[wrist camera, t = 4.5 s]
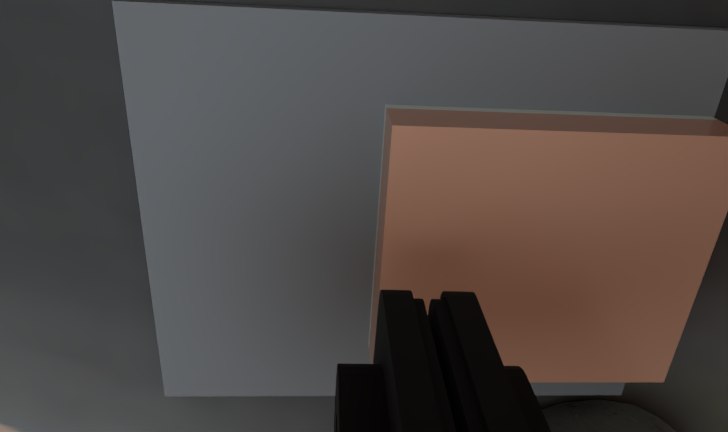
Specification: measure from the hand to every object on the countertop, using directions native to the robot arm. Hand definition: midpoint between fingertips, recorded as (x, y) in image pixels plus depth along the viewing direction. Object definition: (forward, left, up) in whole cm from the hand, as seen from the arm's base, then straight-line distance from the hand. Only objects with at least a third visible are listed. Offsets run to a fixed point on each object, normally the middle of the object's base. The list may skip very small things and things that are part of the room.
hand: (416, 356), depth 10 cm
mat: (-1, 0, -5) cm, 5 cm away
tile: (0, 0, -4) cm, 4 cm away
